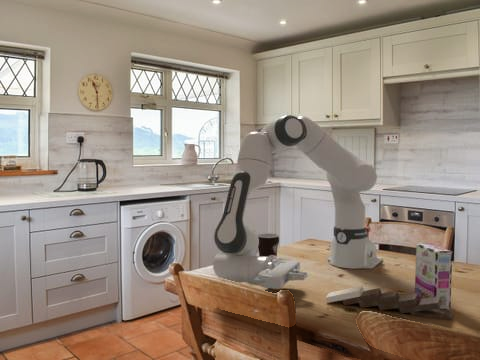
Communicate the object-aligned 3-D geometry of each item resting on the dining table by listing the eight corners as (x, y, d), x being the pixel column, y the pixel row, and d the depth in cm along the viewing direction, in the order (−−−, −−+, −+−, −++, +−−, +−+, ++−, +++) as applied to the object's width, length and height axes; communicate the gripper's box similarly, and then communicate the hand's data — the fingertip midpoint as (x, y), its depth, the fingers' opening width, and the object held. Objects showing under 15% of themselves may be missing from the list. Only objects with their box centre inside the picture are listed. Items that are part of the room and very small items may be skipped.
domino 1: (342, 299, 128) (376, 293, 123) (346, 294, 132) (380, 287, 128) (344, 305, 128) (378, 298, 123) (348, 299, 132) (381, 293, 128)
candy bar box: (452, 310, 123) (453, 251, 122) (434, 311, 123) (436, 251, 121) (429, 296, 134) (431, 242, 133) (413, 297, 134) (415, 242, 133)
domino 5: (410, 311, 120) (452, 316, 116) (411, 305, 125) (451, 310, 121) (410, 317, 121) (451, 323, 116) (411, 310, 125) (451, 316, 121)
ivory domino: (325, 297, 130) (358, 290, 126) (329, 292, 135) (362, 285, 130) (326, 303, 130) (360, 296, 126) (331, 297, 134) (364, 291, 130)
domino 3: (377, 304, 124) (414, 298, 119) (381, 299, 128) (417, 293, 123) (379, 310, 124) (416, 304, 119) (383, 304, 128) (419, 298, 123)
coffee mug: (264, 264, 172) (263, 238, 171) (253, 259, 180) (252, 234, 179) (289, 260, 178) (289, 235, 177) (277, 256, 185) (277, 231, 184)
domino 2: (358, 302, 126) (394, 295, 122) (362, 297, 130) (397, 290, 126) (360, 308, 126) (396, 301, 121) (364, 302, 130) (398, 296, 126)
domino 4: (398, 307, 121) (437, 302, 116) (402, 301, 126) (440, 296, 120) (400, 313, 121) (439, 308, 116) (404, 306, 125) (442, 302, 120)
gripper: (249, 269, 131) (295, 275, 125) (273, 254, 149) (314, 258, 143) (249, 291, 131) (295, 297, 125) (273, 272, 150) (314, 277, 144)
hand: (305, 276), depth 135 cm, fingers closed
